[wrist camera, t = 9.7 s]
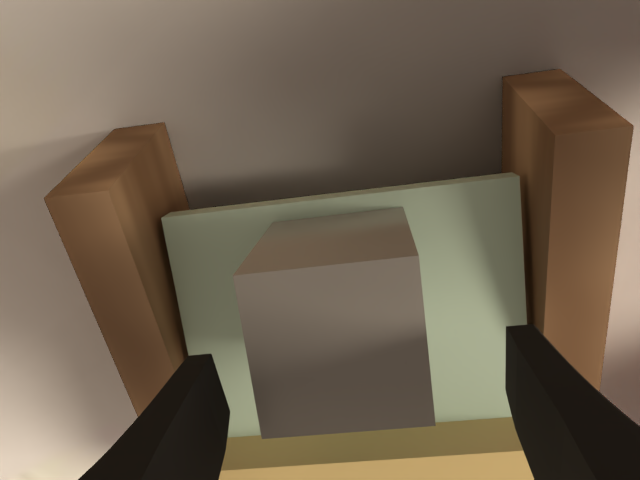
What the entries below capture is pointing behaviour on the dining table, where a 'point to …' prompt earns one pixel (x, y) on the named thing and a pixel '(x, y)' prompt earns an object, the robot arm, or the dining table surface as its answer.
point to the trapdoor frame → (517, 156)
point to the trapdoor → (440, 317)
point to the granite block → (336, 326)
